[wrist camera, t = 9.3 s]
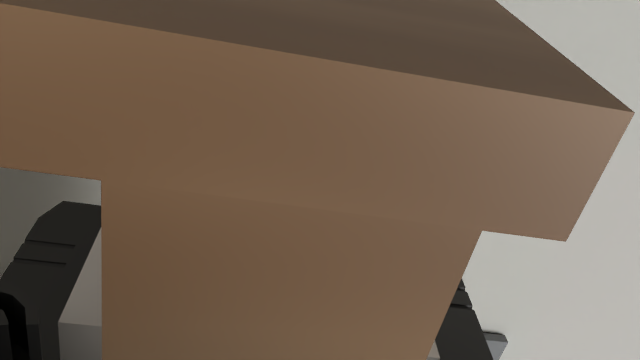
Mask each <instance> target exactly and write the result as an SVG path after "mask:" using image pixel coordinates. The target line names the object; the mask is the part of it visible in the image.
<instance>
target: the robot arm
mask: <svg viewBox="0 0 640 360" xmlns="http://www.w3.org/2000/svg"><path fill="white" fill-rule="evenodd" d="M0 360H102V263H101V206H99V205H91V204H83V203H75V202H67V201H62V202H61V203H60V204H58V205H57V206H55V207H54V208H52V209H51V210H49V211H48V212H46V213H45V214H43V215H42V216H41V217H39V218H38V220H37V221H36V223H35V224H34V226H33V228H32V229H31V231H30V233H29V234H28V236H27V237H26V239H25V243H24V244H22V245H21V247H20V249H19V250H18V252H17V253H16V255H15V257H14V261H13V262H11V263H10V265H9V266H8V268H7V269H6V271H5V273H4V274H3V276H2V277H1V279H0ZM426 360H493V357H492V354H491V352H490V349H489V347H488V344H487V342H486V339H485V337H484V334H483V332H482V329H481V326H480V324H479V321H478V319H477V316H476V314H475V311H474V310H472V303H471V301H470V298H469V296H468V293H467V292H465V286H464V283H463V281H462V278H461V280H460V283H459V285H458V287H457V290H456V292H455V294H454V297H453V299H452V301H451V304H450V306H449V308H448V311H447V313H446V315H445V317H444V320H443V322H442V324H441V327H440V329H439V331H438V334H437V336H436V338H435V341H434V343H433V345H432V348H431V350H430V352H429V355H428V357H427V359H426Z"/></svg>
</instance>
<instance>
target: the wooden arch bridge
mask: <svg viewBox="0 0 640 360" xmlns="http://www.w3.org/2000/svg"><path fill="white" fill-rule="evenodd" d="M634 113H635V112H633V111H632V110H631V109H630V108H628V107H627V106H626V105H625V104H623V103H622V102H621V101H620V100H618V99H617V98H616V97H615V96H613V95H612V94H611V93H610V92H608V91H607V90H606V89H605V88H603V87H602V86H601V85H600V84H598V83H597V82H596V81H595V80H593V79H592V78H591V77H590V76H589V75H587V74H586V73H585V72H584V71H582V70H581V69H580V68H579V67H577V66H576V65H575V64H574V63H572V62H571V61H570V60H569V59H567V58H566V57H565V56H564V55H562V54H561V53H560V52H559V51H557V50H556V49H555V48H554V47H552V46H551V45H550V44H549V43H547V42H546V41H545V40H544V39H543V38H541V37H540V36H539V35H538V34H536V33H535V32H534V31H533V30H531V29H530V28H529V27H528V26H526V25H525V24H524V23H523V22H521V21H520V20H519V19H518V18H516V17H515V16H514V15H513V14H511V13H510V12H509V11H508V10H506V9H505V8H504V7H503V6H501V5H500V4H499V3H498V2H496V1H495V0H0V167H3V168H11V169H19V170H26V171H34V172H41V173H49V174H57V175H64V176H72V177H79V178H87V179H95V180H101V263H102V360H426V359H427V357H428V355H429V352H430V350H431V348H432V345H433V343H434V341H435V338H436V336H437V334H438V331H439V329H440V327H441V324H442V322H443V320H444V317H445V315H446V313H447V311H448V308H449V306H450V304H451V301H452V299H453V297H454V294H455V292H456V290H457V287H458V285H459V283H460V280H461V278H462V276H463V273H464V271H465V269H466V267H467V264H468V262H469V260H470V257H471V255H472V253H473V250H474V248H475V246H476V243H477V241H478V239H479V236H480V234H481V232H482V231H490V232H497V233H505V234H513V235H520V236H528V237H535V238H543V239H551V240H558V241H566V240H567V239H568V237H569V235H570V233H571V231H572V229H573V227H574V225H575V224H576V222H577V220H578V218H579V216H580V214H581V212H582V210H583V209H584V207H585V205H586V203H587V201H588V199H589V197H590V195H591V194H592V192H593V190H594V188H595V186H596V184H597V182H598V181H599V179H600V177H601V175H602V173H603V171H604V169H605V167H606V166H607V164H608V162H609V160H610V158H611V156H612V154H613V152H614V151H615V149H616V147H617V145H618V143H619V141H620V139H621V137H622V136H623V134H624V132H625V130H626V128H627V126H628V124H629V123H630V121H631V119H632V117H633V115H634Z"/></svg>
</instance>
